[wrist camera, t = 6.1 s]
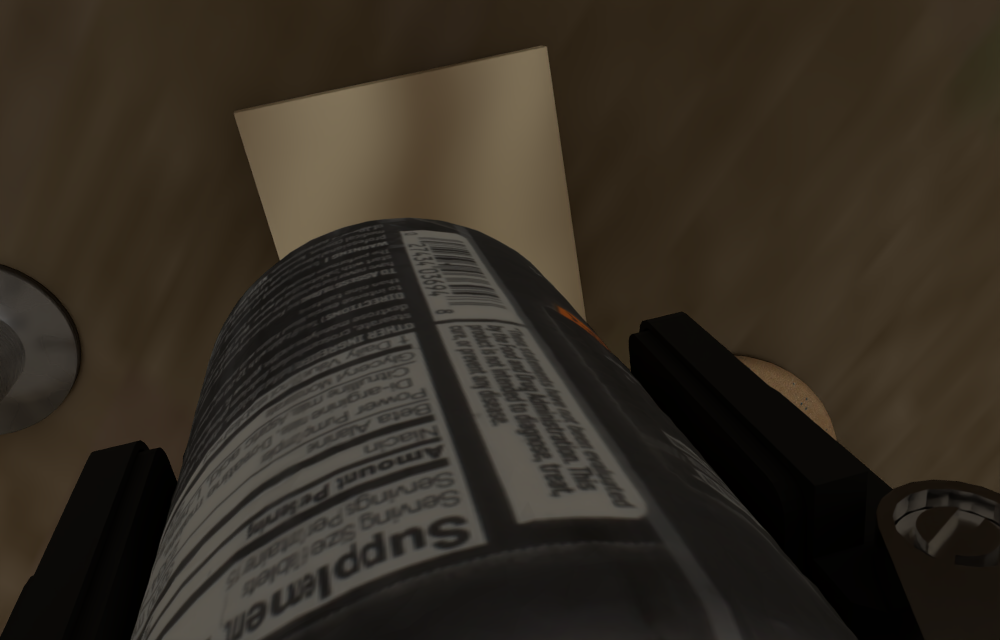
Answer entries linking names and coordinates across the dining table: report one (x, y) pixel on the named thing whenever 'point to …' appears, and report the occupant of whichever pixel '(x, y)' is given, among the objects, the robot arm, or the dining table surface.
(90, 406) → the dining table surface
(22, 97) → the dining table surface
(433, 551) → the pill bottle
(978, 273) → the dining table surface
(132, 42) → the dining table surface
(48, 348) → the gate posts
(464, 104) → the coaster
